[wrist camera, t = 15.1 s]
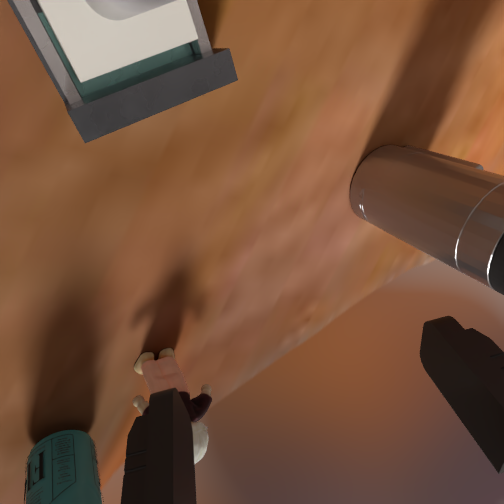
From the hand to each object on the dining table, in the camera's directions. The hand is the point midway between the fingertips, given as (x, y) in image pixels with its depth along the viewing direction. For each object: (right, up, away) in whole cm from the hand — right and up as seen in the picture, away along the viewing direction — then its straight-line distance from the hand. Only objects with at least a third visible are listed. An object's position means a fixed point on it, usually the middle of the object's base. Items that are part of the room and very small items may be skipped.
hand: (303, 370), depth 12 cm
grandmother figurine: (-12, -8, +30) cm, 33 cm away
